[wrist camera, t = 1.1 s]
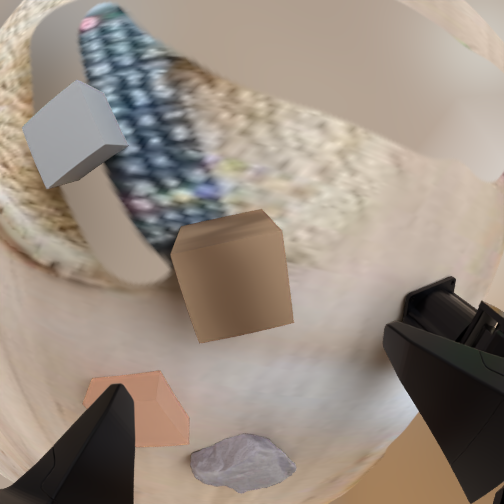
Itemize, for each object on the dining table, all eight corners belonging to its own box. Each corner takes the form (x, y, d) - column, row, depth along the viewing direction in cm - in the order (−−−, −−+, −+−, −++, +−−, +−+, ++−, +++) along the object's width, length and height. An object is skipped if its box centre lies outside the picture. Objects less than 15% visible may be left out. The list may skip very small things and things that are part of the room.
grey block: (104, 93, 13) (77, 79, 9) (129, 145, 14) (105, 144, 10) (56, 129, 13) (21, 127, 9) (78, 180, 14) (47, 189, 11)
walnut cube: (261, 208, 17) (282, 230, 12) (273, 281, 19) (293, 322, 14) (181, 226, 16) (170, 254, 12) (200, 297, 18) (199, 343, 14)
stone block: (245, 414, 26) (181, 454, 25) (261, 446, 22) (188, 485, 21) (295, 443, 31) (240, 476, 30) (310, 466, 26) (250, 501, 25)
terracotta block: (160, 368, 20) (155, 399, 17) (189, 415, 23) (189, 444, 19) (92, 375, 20) (82, 403, 16) (127, 420, 22) (123, 446, 19)
